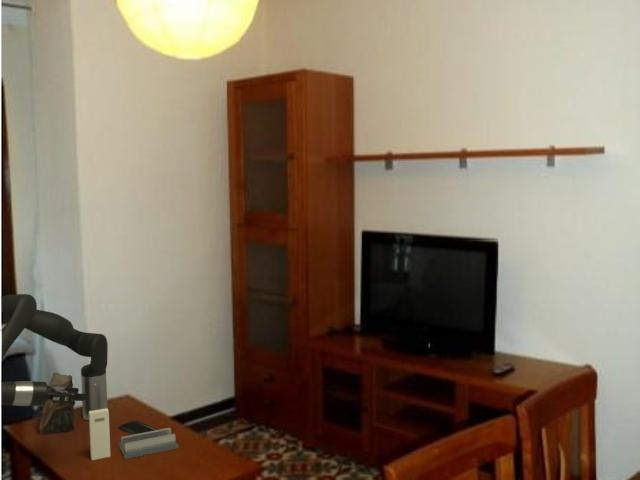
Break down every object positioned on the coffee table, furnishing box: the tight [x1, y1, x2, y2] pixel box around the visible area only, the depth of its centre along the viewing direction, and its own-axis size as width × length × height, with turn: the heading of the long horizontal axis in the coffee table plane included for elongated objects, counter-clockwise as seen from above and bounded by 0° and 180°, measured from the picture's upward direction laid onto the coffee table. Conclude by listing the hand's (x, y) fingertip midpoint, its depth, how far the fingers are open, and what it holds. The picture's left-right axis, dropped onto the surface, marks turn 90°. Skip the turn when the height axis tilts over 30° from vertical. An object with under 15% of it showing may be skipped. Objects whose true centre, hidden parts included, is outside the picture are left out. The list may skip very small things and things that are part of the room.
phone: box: [118, 420, 159, 435], centre depth 232 cm, size 8×1×15 cm
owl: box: [39, 372, 76, 436], centre depth 234 cm, size 13×13×20 cm
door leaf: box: [88, 407, 111, 461], centre depth 209 cm, size 3×6×16 cm, turn 118°
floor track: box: [118, 427, 180, 460], centre depth 217 cm, size 12×18×4 cm, turn 118°
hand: (81, 394), depth 205 cm, fingers open, 8 cm apart
